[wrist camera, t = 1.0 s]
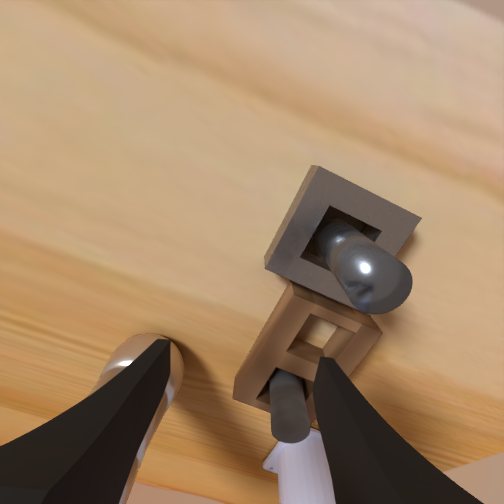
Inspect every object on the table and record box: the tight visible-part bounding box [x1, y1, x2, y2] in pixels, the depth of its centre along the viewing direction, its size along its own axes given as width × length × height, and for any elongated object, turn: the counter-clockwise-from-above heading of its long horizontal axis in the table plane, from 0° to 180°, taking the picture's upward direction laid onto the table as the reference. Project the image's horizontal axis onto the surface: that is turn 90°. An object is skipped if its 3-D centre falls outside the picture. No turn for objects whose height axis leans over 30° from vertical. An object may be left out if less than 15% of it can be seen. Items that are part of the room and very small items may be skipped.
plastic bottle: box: [89, 333, 184, 504], centre depth 16 cm, size 6×7×20 cm
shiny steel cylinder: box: [312, 216, 412, 314], centre depth 16 cm, size 3×3×9 cm
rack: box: [233, 281, 382, 444], centre depth 22 cm, size 8×12×6 cm, turn 155°
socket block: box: [264, 165, 422, 309], centre depth 20 cm, size 8×8×2 cm
